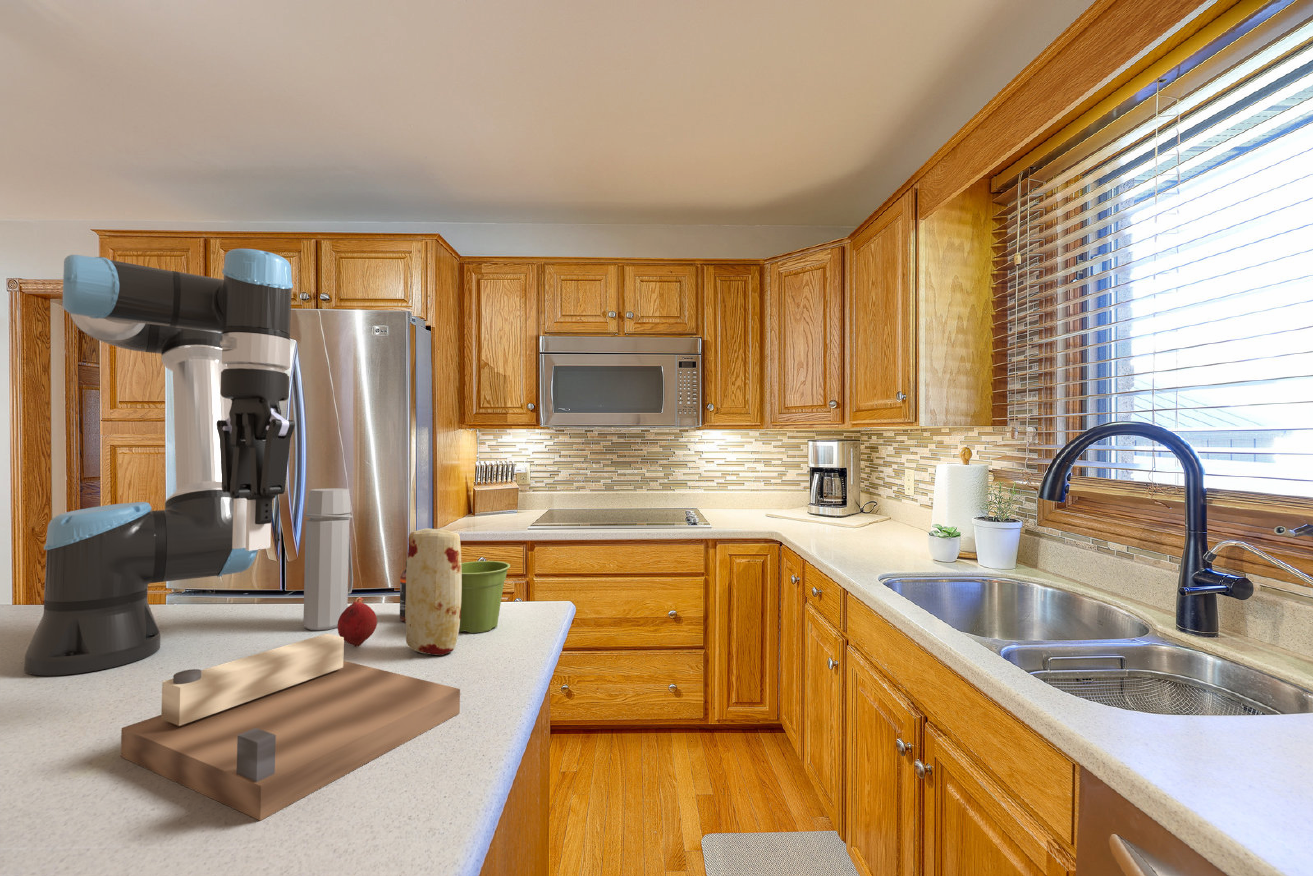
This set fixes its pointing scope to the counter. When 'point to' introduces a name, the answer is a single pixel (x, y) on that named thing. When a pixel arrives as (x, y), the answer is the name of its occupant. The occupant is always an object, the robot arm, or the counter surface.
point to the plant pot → (481, 594)
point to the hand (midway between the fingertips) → (251, 547)
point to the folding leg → (248, 678)
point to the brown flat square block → (291, 737)
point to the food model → (433, 591)
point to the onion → (357, 623)
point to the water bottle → (327, 558)
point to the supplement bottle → (403, 595)
